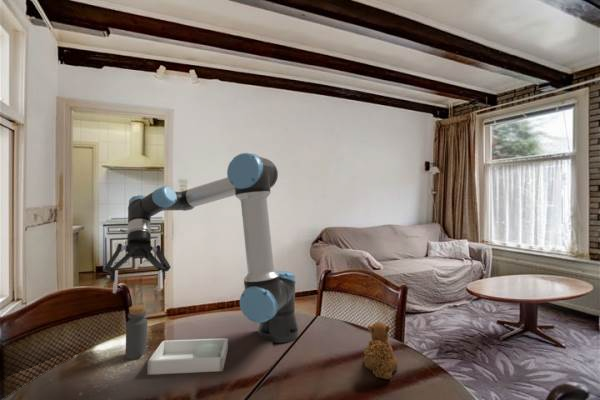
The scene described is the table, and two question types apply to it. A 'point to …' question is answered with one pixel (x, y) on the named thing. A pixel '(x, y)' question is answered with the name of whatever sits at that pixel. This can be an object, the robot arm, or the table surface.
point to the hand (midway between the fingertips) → (138, 290)
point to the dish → (207, 351)
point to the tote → (185, 357)
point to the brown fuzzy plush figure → (380, 352)
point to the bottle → (136, 332)
